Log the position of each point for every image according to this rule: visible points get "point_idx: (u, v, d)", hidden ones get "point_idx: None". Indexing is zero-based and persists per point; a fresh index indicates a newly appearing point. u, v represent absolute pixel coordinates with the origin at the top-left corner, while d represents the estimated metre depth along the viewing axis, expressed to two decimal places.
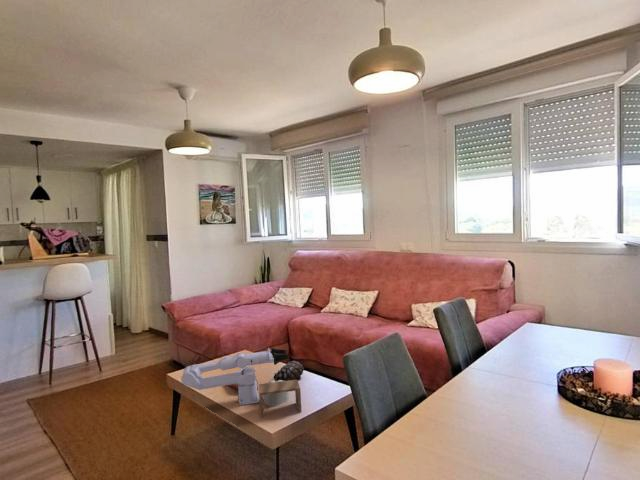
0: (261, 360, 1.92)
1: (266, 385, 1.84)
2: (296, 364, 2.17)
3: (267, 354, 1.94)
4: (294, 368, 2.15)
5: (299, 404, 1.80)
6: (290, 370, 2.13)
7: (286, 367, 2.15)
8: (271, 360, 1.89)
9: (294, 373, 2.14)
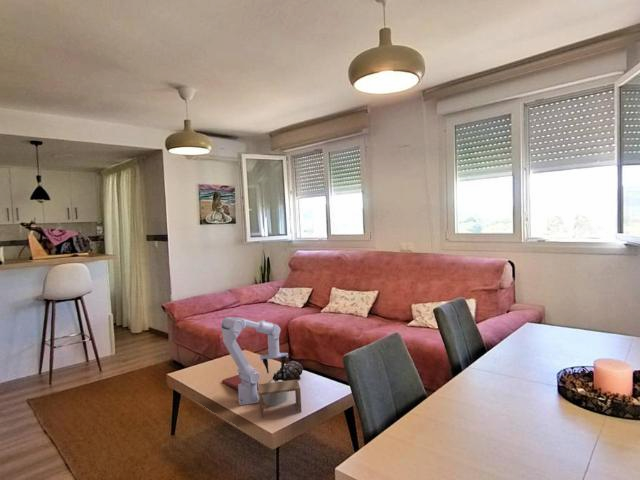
0: None
1: (266, 385, 1.84)
2: (295, 364, 2.17)
3: None
4: (293, 368, 2.15)
5: (299, 404, 1.80)
6: (289, 370, 2.13)
7: (285, 367, 2.15)
8: (287, 354, 2.07)
9: (293, 373, 2.14)
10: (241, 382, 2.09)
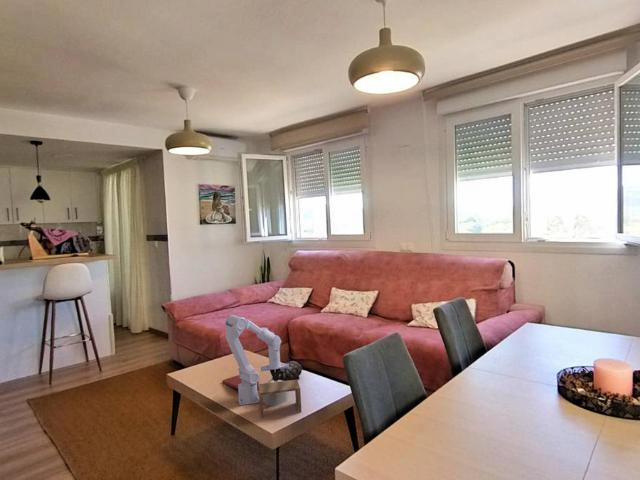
0: (279, 358, 2.04)
1: (266, 385, 1.84)
2: (295, 364, 2.17)
3: None
4: (293, 368, 2.15)
5: (299, 404, 1.80)
6: (289, 370, 2.13)
7: None
8: (288, 365, 2.06)
9: (293, 373, 2.14)
10: (241, 382, 2.08)
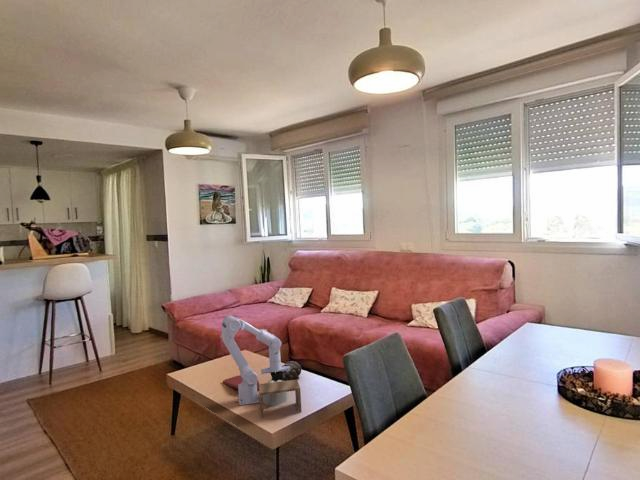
0: (280, 360, 2.01)
1: (266, 385, 1.84)
2: (294, 364, 2.17)
3: None
4: (292, 368, 2.15)
5: (299, 404, 1.80)
6: None
7: None
8: None
9: (292, 373, 2.14)
10: None
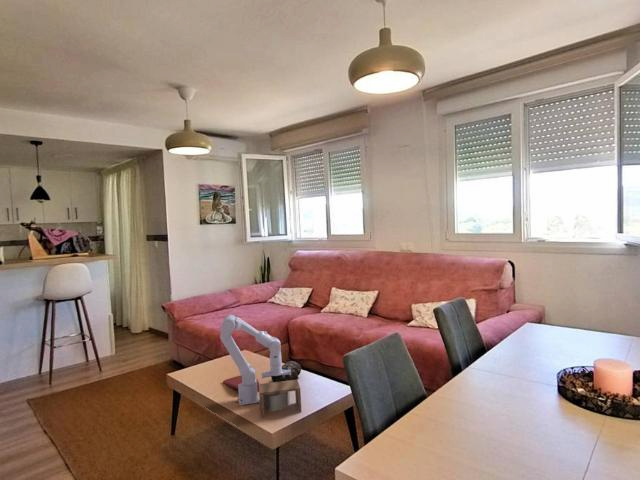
0: (281, 364, 1.96)
1: (266, 385, 1.84)
2: (294, 364, 2.17)
3: None
4: (292, 368, 2.15)
5: (299, 404, 1.80)
6: None
7: (284, 367, 2.14)
8: (290, 371, 1.97)
9: (292, 373, 2.14)
10: None
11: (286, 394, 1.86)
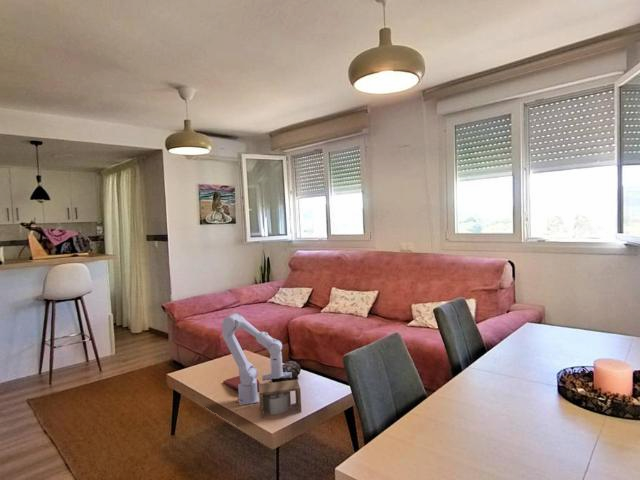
0: None
1: (266, 385, 1.84)
2: (293, 364, 2.17)
3: None
4: (292, 368, 2.15)
5: (299, 404, 1.80)
6: (288, 370, 2.13)
7: (284, 367, 2.14)
8: (291, 374, 1.94)
9: (292, 373, 2.14)
10: None
11: (286, 397, 1.83)
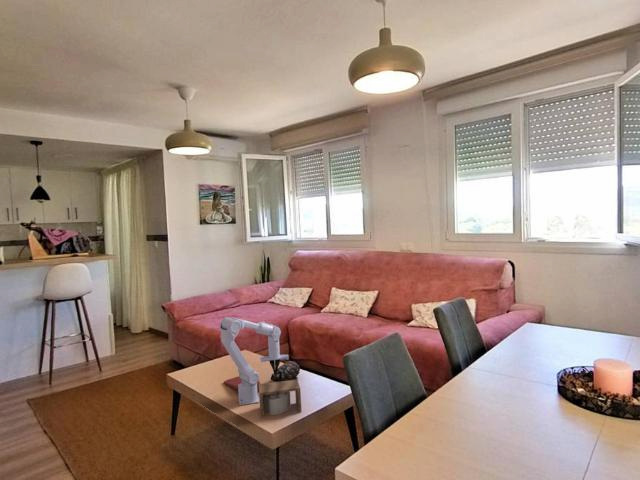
0: (279, 349, 2.04)
1: (266, 385, 1.84)
2: (293, 364, 2.17)
3: None
4: (291, 368, 2.15)
5: (299, 404, 1.80)
6: (287, 370, 2.13)
7: (283, 367, 2.14)
8: (288, 356, 2.05)
9: (291, 373, 2.14)
10: None
11: (286, 397, 1.83)
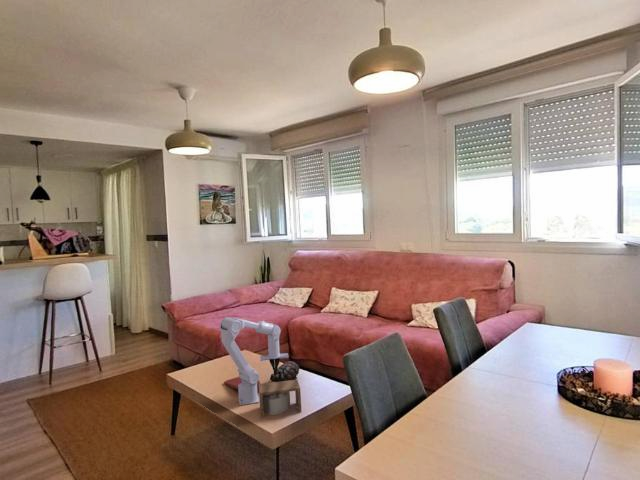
0: None
1: (266, 385, 1.84)
2: (292, 364, 2.17)
3: None
4: (290, 368, 2.15)
5: (299, 404, 1.80)
6: (287, 370, 2.13)
7: (282, 367, 2.14)
8: None
9: (291, 373, 2.14)
10: None
11: (286, 397, 1.83)
